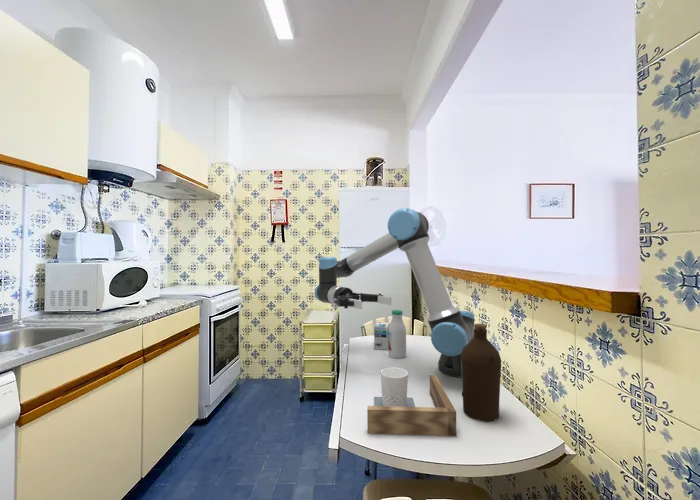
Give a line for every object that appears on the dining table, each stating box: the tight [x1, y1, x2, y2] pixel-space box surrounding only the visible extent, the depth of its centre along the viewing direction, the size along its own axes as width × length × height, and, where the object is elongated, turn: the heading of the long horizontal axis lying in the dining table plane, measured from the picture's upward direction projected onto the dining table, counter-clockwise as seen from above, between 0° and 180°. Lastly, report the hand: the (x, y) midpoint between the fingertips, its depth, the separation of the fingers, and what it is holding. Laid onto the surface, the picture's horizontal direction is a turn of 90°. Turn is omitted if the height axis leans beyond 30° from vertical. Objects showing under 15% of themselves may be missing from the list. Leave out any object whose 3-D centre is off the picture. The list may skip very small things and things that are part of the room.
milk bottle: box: [387, 309, 407, 359], centre depth 141 cm, size 8×8×20 cm
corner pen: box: [366, 374, 457, 437], centre depth 92 cm, size 22×24×6 cm
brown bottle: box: [461, 323, 502, 422], centre depth 91 cm, size 11×11×25 cm
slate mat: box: [373, 396, 416, 407], centre depth 94 cm, size 12×12×1 cm
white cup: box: [380, 367, 409, 407], centre depth 94 cm, size 8×8×10 cm
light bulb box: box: [373, 321, 391, 351], centre depth 155 cm, size 11×7×11 cm, turn 168°
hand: (376, 303), depth 111 cm, fingers open, 13 cm apart
